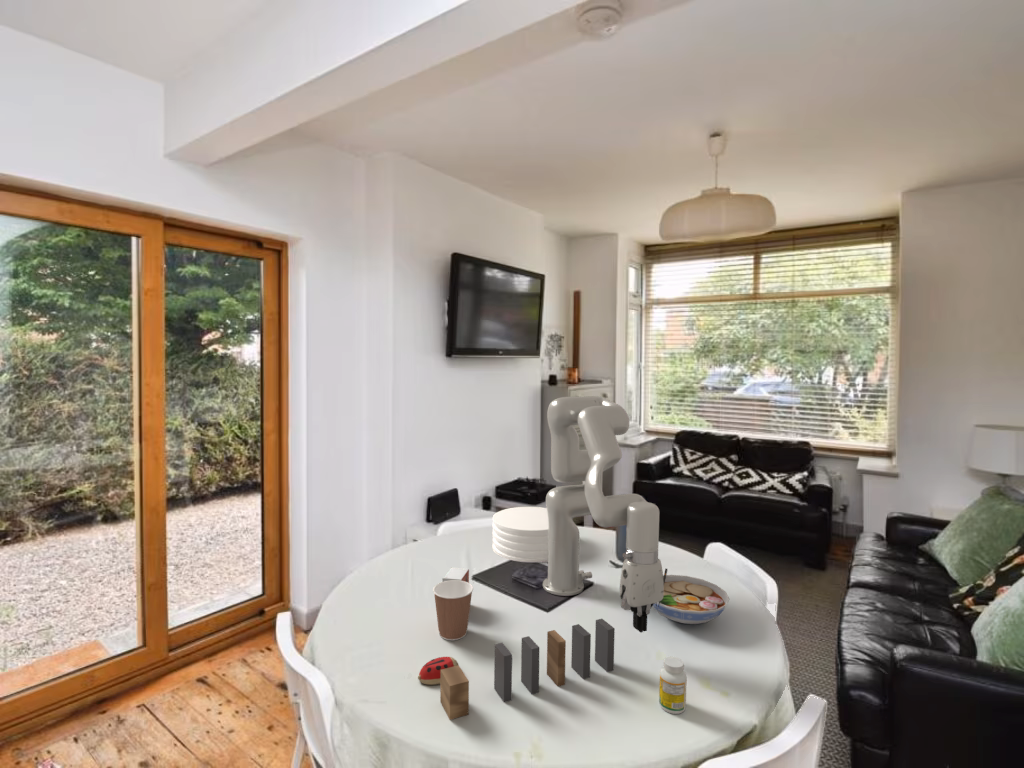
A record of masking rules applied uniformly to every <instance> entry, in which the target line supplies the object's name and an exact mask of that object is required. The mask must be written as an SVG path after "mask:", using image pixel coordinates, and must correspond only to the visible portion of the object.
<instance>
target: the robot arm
mask: <svg viewBox="0 0 1024 768" xmlns="http://www.w3.org/2000/svg"><path fill="white" fill-rule="evenodd" d="M546 417H547V425H548V428H549V432H550V438H551V439H550V441H551V443H550V448H551V449H550V458H551V459H550V470H551V471H550V473H551V476H552V479H553V480H554V481H556V482H557V483H576V482H582V484H574V485H573V484H571V485H563V486H556V487H553V488H551V489H550V490H549V491H548V492H547V493H546V496H545V506H546V507H545V508H547V514H548V527H549V533H548V561H547V578H545V579H544V580H543V581H542V587H543V589H544V591H545V592H547V593H549V594H552V595H555V596H562V597H564V596H565V597H569V596H576V595H577V594H580V593H582V592H583V590H584V588H585V587H584V583H583V581H585V580H588V579H592V578H593V573H592V571H587V572H585V571H584V570H583V569H582V570H580V529H579V527H578V526H577V525H576V522H574V520H573V519H574V518H577V517H586V516H591V518H592V520H593V521H594V523H596V524H597V525H598V526H599V527H601V528H614V527H620V526H626V535H625V536H626V537H625V538H626V539H625V552H624V553H622V558H623V562H622V569H621V573H620V579H619V580H620V581H619V598H620V600H621V604H620V608H621V609H623V610H624V611H631V612H632V626H633V628H634V629H636V630H637V631H638V632H640V633H644V632H647V630H648V615H649V614H650V613H651V609H652V608H653V604H656V603H657V602H659V601H661V600H662V599H663V596H664V582H663V575H664V570H663V566H662V561H661V559H660V558H659V543H660V542H659V538H660V537H659V536H660V509H659V507H658V506H657V505H656V503H652V502H650V501H649V502H648V501H647V500H646V499H645V498H644V497H642V495H640V494H639V493H626V494H625V493H624V494H613V495H606V496H605V495H604V492H603V472H605V471H607V470H609V469H610V468H612V467H614V466H615V465H617V463H619V462H620V461H621V459H622V458H623V453H622V450H621V448H620V444H619V441H618V440H617V437H616V436H623V435H625V434H626V433H627V432H628V431H629V428H630V418H629V415H628V413H627V411H626V410H625V408H623V406H622V405H620V404H618V403H616V402H614V401H612V400H610V399H607V398H606V397H602V396H600V395H599V396H598V395H595V396H594V395H593V396H562V397H558V398H556V399H553V400H552V401H551V402H550V403H549V405H548V408H547V413H546ZM575 426H578V428H579V431H580V434H581V437H582V440H583V443H584V446H585V449H580V436H579V433H578V431H577V429H576V428H575Z"/></svg>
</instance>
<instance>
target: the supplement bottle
mask: <svg viewBox="0 0 1024 768" xmlns="http://www.w3.org/2000/svg"><path fill="white" fill-rule="evenodd" d="M662 666H663V667H661V669H660V671H659V689H658V692H659V693H658V694H659V695H658V701H659V706H660V708H661V709H662V710H663V711H665V712H667V713H669V714H672V715H680V714H682V713H683V712H685V710H686V706H687V705H686V704H687V702H686V701H687V684H688V683H687V681H688V680H687V678H688V677H687V673H686V672H685V671H684V670H685V663H684V661H683V660H682V659H681V658H679V657H677V656H669V655H668V656H666V657H665V658H664V659H663V665H662Z"/></svg>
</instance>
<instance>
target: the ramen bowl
mask: <svg viewBox="0 0 1024 768" xmlns="http://www.w3.org/2000/svg"><path fill="white" fill-rule="evenodd" d="M663 582H664V596H663V599H662V600H661V601H659V602H657V603H656V604H653V606H652V608H653V609H654V610H655V611H656V612H657V613H659V614H660V615H661V616H663V617H665V618H667V619H669V620H671V621H674V622H676V623H679V624H684V625H697V624H705V623H708V622H709V621H713V620H714V619H716V618H718V616H720V615H721V614H722V612H723V611H724V610H725V608H726V607H727V605H728V603H729V601H730V597H729V596H728V594H727V591H726V590H724V589H722V588H721V587H720V586H719V585H717V584H715V583H712V582H710V581H708V580H705V579H703V578H697V577H694V576H688V575H682V574H681V575H680V574H668V568H665V569H664V572H663Z"/></svg>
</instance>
